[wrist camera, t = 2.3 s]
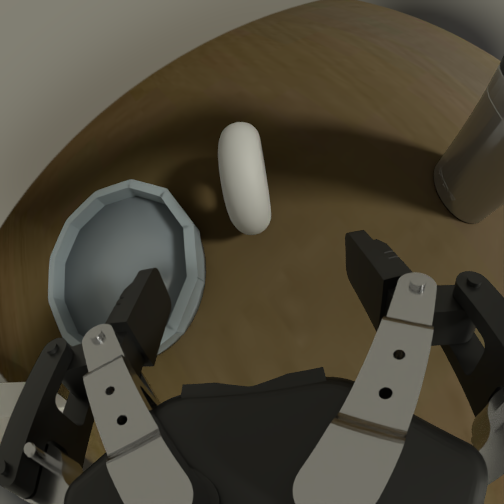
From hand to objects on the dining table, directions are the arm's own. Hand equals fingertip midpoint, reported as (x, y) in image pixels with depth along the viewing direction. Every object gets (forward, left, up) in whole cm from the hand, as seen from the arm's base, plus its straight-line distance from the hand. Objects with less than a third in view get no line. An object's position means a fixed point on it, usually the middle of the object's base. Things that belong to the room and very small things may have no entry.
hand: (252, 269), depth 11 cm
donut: (0, -10, -14) cm, 18 cm away
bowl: (+15, -5, -14) cm, 21 cm away
